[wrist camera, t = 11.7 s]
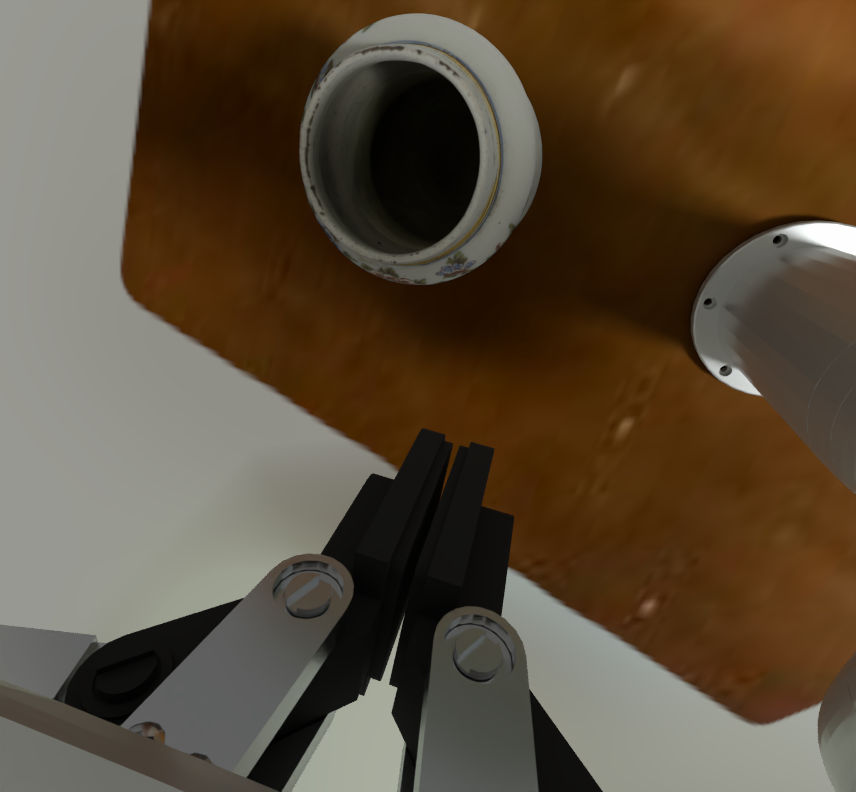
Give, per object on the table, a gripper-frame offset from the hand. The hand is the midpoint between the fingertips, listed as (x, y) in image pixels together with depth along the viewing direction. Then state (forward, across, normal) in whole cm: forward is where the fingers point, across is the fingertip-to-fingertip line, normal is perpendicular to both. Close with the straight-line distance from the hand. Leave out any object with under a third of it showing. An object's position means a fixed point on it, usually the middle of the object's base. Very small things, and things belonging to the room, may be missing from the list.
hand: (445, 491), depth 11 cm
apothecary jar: (+31, +6, -6) cm, 32 cm away
